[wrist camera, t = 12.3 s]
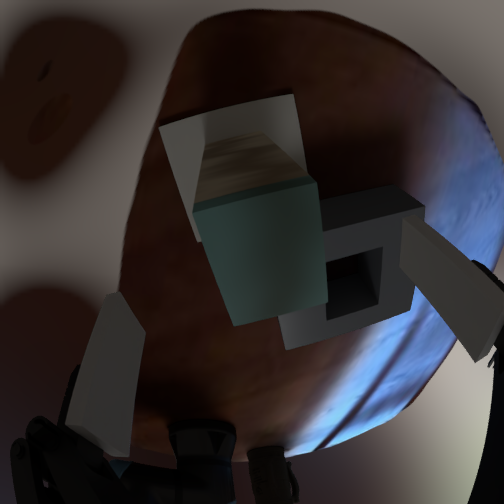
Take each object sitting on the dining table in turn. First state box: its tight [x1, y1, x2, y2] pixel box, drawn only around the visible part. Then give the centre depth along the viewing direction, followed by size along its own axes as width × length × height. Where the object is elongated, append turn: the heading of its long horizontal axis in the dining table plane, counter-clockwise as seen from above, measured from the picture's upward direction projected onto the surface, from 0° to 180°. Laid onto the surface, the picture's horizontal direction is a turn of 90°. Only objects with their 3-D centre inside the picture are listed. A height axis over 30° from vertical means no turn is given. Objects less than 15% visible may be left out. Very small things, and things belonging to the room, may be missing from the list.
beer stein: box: [247, 446, 299, 504], centre depth 59 cm, size 15×11×20 cm
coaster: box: [159, 94, 307, 242], centre depth 25 cm, size 12×12×1 cm
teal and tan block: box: [192, 131, 328, 326], centre depth 19 cm, size 5×6×15 cm
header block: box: [277, 184, 425, 350], centre depth 29 cm, size 16×14×6 cm
